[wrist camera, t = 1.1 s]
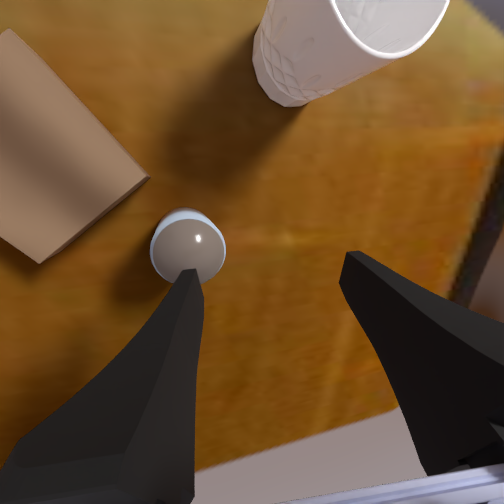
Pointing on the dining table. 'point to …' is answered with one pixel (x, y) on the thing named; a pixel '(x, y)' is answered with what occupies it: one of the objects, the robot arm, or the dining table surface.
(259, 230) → the dining table surface
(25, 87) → the walnut box
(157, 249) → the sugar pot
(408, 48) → the white cup
